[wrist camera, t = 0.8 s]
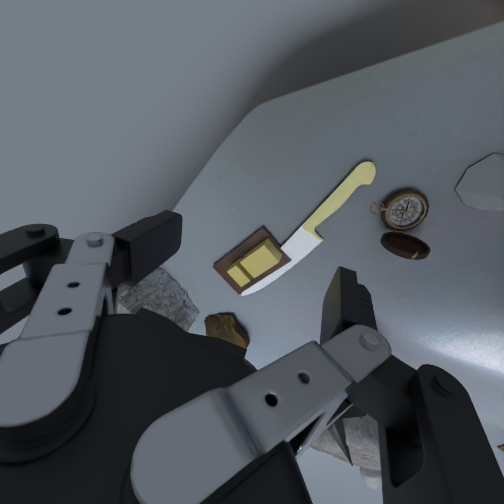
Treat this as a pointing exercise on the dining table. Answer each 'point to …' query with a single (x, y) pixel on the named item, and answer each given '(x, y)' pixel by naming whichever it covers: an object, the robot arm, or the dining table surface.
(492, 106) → the dining table surface
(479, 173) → the flask
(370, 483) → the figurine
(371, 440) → the decorative stone
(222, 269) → the butter board
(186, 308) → the petrified wood
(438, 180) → the dining table surface
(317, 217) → the knife
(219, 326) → the decorative stone
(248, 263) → the butter
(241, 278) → the butter slice
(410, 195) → the compass
